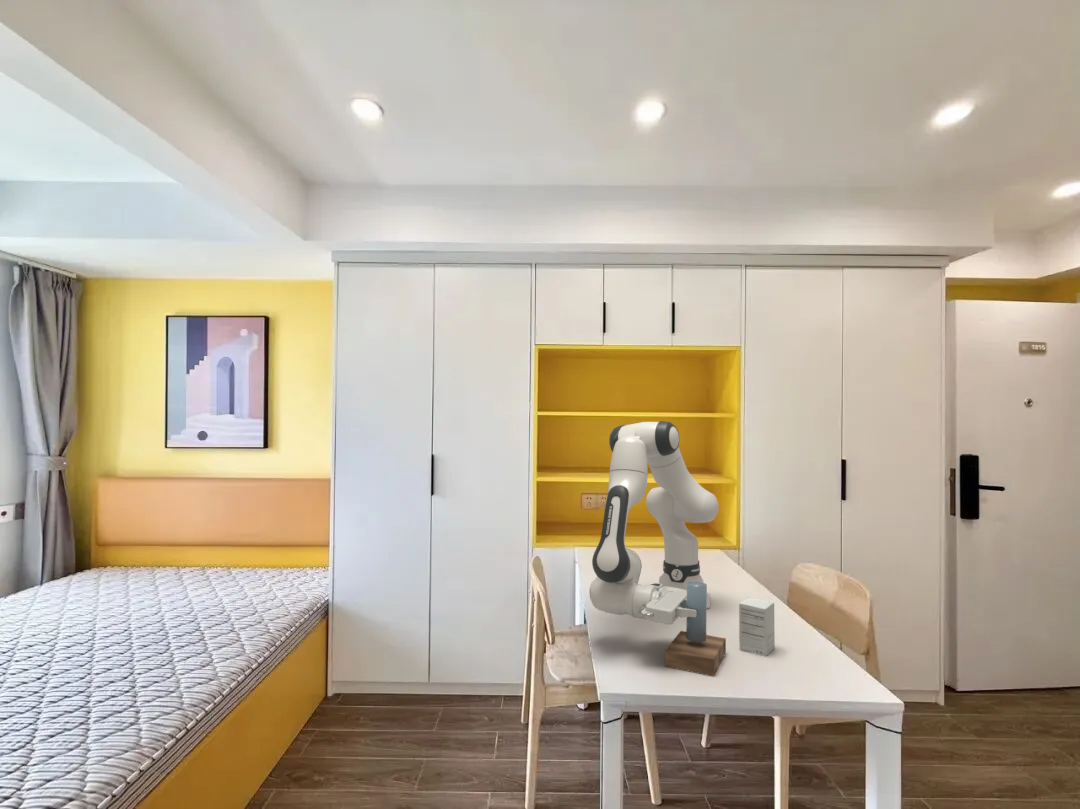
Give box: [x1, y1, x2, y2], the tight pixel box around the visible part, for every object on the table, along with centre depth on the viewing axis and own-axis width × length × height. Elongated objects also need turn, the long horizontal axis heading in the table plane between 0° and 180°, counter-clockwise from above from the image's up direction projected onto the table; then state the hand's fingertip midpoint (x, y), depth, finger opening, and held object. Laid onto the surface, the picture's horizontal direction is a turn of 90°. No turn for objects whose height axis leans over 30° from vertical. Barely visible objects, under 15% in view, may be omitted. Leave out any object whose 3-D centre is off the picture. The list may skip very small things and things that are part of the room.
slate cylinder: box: [685, 582, 708, 642], centre depth 157 cm, size 5×5×14 cm
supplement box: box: [738, 597, 776, 657], centre depth 164 cm, size 7×7×13 cm
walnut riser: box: [664, 630, 727, 677], centre depth 157 cm, size 16×12×4 cm
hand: (699, 609), depth 157 cm, fingers closed on slate cylinder, 5 cm apart
